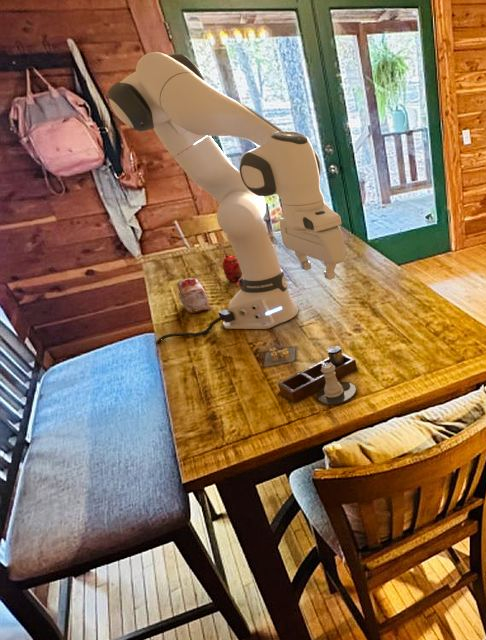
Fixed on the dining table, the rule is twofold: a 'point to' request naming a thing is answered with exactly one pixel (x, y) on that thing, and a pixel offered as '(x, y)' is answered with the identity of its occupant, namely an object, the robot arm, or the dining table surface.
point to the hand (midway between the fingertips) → (318, 273)
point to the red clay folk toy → (231, 266)
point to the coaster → (347, 394)
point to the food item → (193, 295)
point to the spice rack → (309, 382)
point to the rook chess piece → (331, 381)
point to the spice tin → (335, 355)
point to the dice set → (279, 356)
